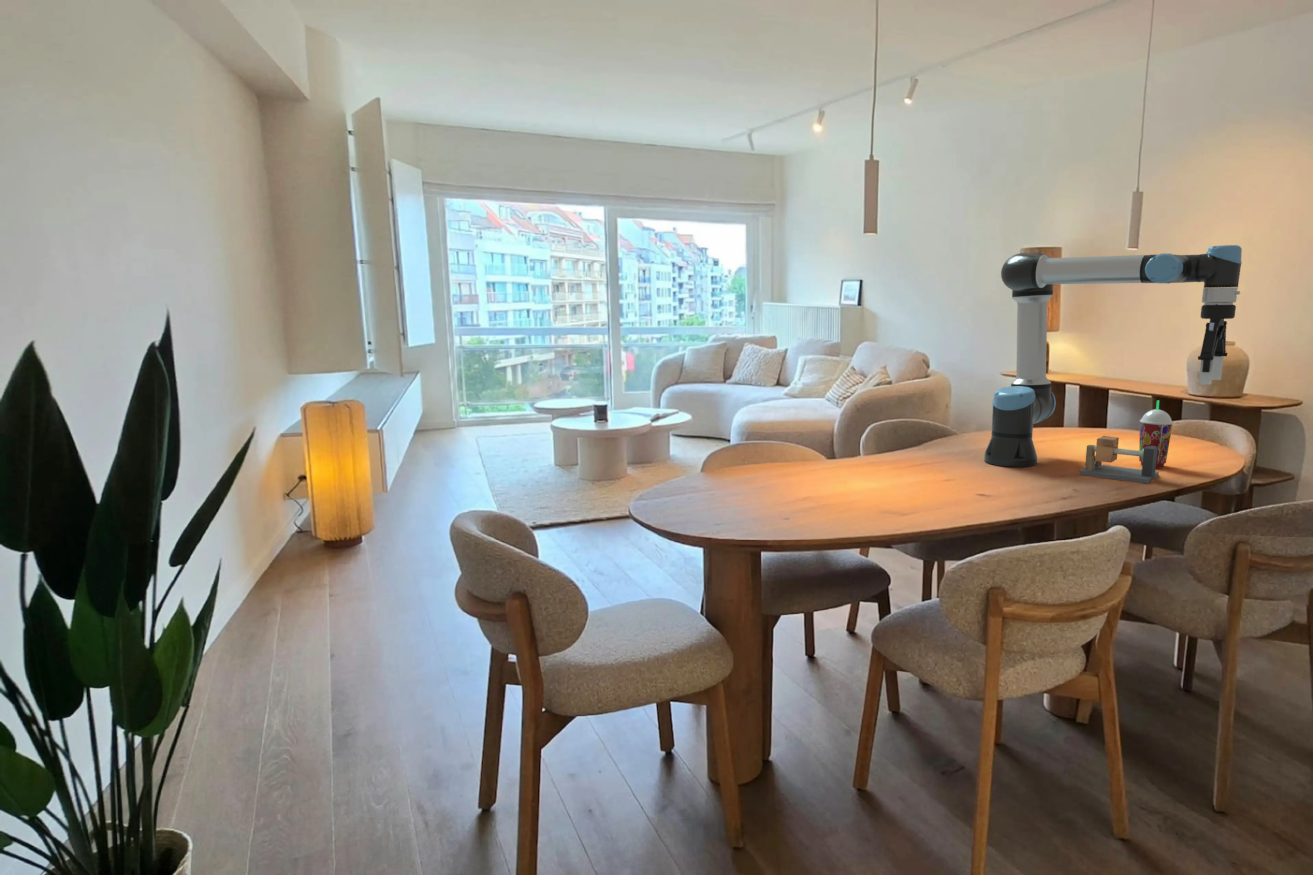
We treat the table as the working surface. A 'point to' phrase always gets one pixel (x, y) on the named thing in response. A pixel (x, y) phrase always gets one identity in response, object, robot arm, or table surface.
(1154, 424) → the smoothie
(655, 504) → the table surface
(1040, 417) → the robot arm
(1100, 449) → the sleeve
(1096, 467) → the peg stand base
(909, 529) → the table surface
